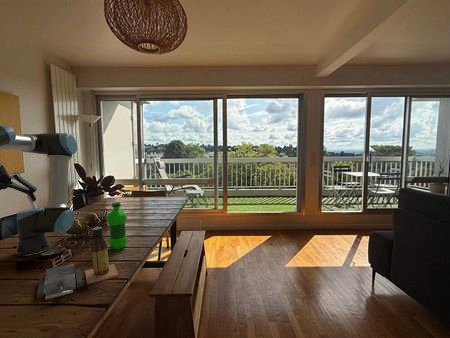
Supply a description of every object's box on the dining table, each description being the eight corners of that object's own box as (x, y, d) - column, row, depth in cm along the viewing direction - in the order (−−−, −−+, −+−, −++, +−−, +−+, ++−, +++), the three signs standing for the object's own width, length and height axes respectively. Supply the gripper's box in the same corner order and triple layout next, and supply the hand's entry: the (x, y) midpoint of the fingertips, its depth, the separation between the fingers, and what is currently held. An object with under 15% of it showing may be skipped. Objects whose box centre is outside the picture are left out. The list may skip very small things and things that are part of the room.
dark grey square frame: (40, 282, 110) (39, 270, 109) (81, 272, 117) (80, 261, 117) (35, 308, 92) (34, 294, 91) (84, 295, 99) (83, 282, 99)
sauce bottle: (111, 268, 118) (109, 225, 117) (105, 275, 112) (103, 229, 111) (96, 269, 118) (94, 225, 117) (90, 276, 112) (87, 230, 110)
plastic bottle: (132, 246, 148) (130, 202, 146) (116, 252, 139) (113, 206, 137) (120, 243, 153) (118, 200, 151) (104, 249, 144) (101, 204, 142)
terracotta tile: (85, 272, 117) (84, 270, 117) (113, 265, 124) (113, 263, 123) (87, 284, 107) (87, 282, 107) (118, 276, 113) (118, 274, 113)
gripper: (-54, 181, 95) (-22, 230, 103) (25, 160, 103) (49, 206, 111) (-44, 175, 101) (-15, 221, 109) (29, 155, 109) (51, 199, 117)
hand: (17, 214), depth 110 cm, fingers open, 13 cm apart
